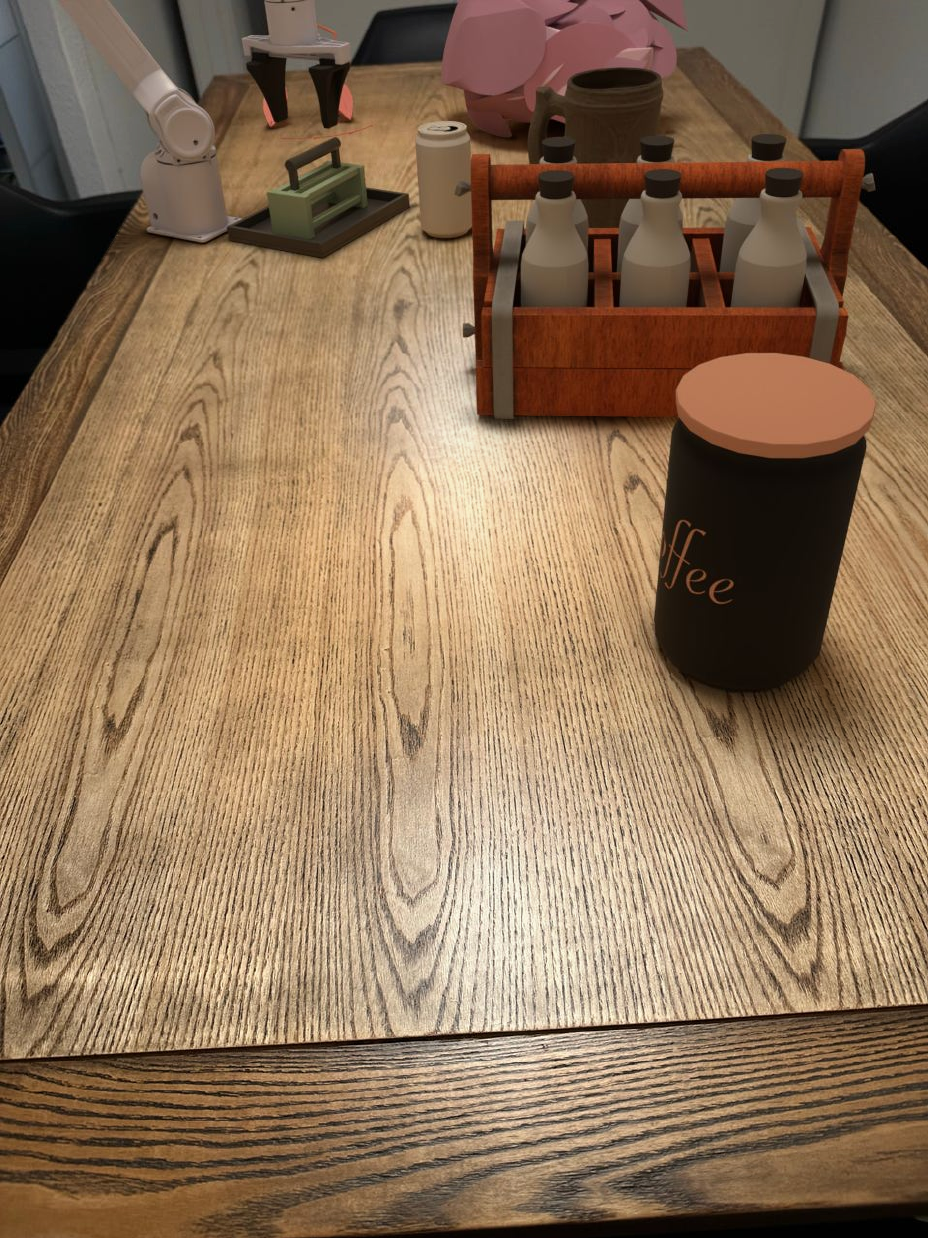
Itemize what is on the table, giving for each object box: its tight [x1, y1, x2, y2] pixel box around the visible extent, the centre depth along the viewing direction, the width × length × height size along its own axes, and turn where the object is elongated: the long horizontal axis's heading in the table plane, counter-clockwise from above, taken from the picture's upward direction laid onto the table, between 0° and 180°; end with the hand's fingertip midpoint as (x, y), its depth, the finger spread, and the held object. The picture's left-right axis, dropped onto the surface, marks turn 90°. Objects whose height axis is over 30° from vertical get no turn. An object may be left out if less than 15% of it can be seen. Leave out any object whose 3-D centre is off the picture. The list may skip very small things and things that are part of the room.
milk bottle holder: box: [454, 133, 876, 420], centre depth 94 cm, size 21×35×19 cm, turn 85°
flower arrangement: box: [440, 0, 689, 138], centre depth 155 cm, size 35×24×28 cm
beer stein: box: [527, 67, 665, 228], centre depth 115 cm, size 15×11×20 cm
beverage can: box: [414, 120, 472, 239], centre depth 127 cm, size 6×6×12 cm
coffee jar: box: [653, 353, 877, 693], centre depth 64 cm, size 11×11×18 cm
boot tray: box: [226, 186, 411, 259], centre depth 134 cm, size 14×19×2 cm
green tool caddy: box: [266, 136, 368, 239], centre depth 132 cm, size 6×13×8 cm, turn 152°
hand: (305, 123), depth 132 cm, fingers open, 7 cm apart
